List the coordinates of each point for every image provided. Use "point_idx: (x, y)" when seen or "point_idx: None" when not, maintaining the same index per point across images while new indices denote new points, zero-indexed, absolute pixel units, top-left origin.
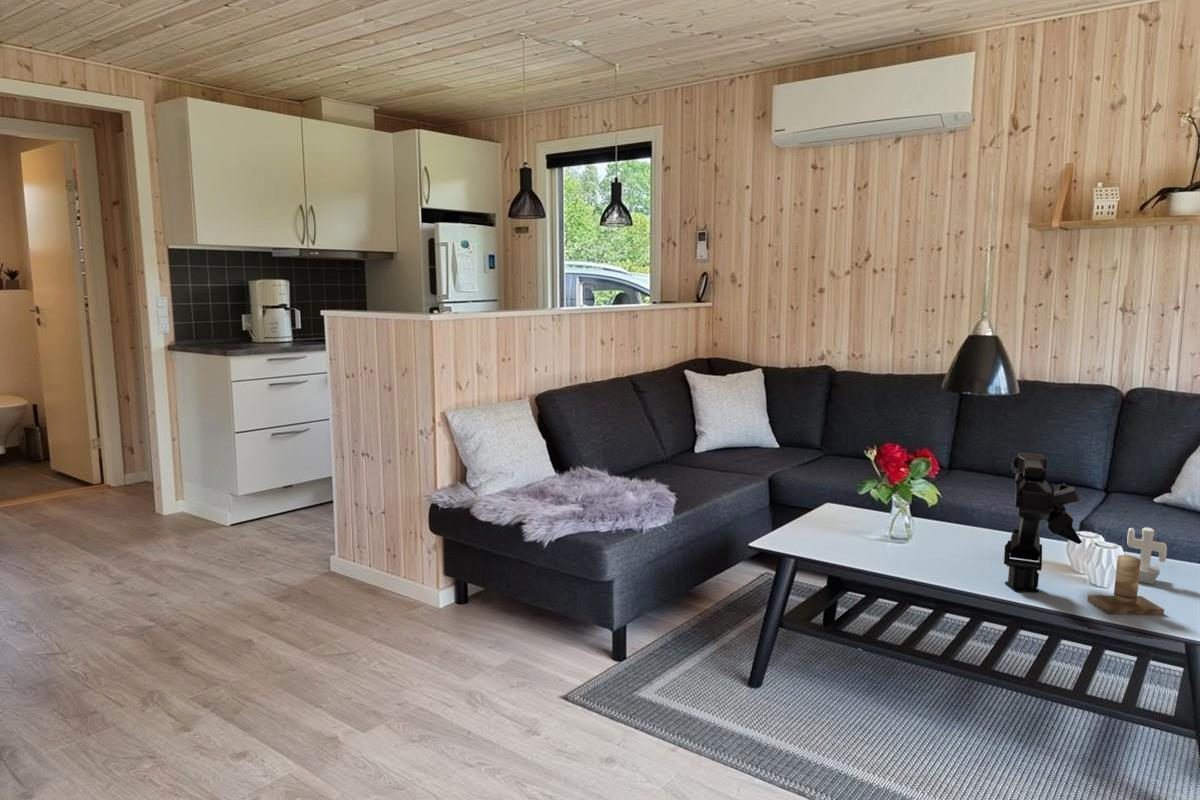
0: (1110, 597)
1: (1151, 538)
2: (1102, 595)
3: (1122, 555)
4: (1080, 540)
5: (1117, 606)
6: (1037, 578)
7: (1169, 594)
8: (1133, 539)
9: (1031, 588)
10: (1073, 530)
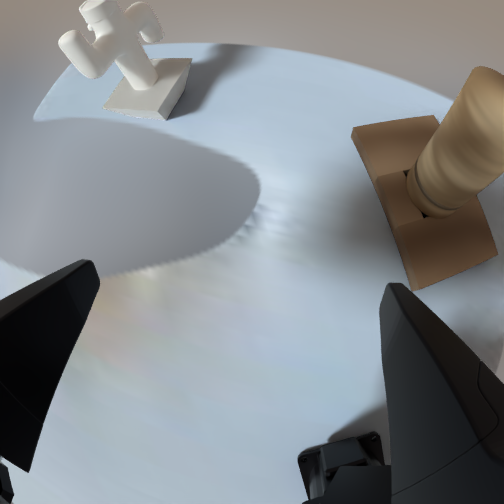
0: (412, 219)
1: (121, 10)
2: (404, 239)
3: (490, 107)
4: (412, 297)
5: (475, 222)
6: (364, 453)
7: (257, 71)
8: (96, 49)
9: (374, 455)
10: (500, 394)
